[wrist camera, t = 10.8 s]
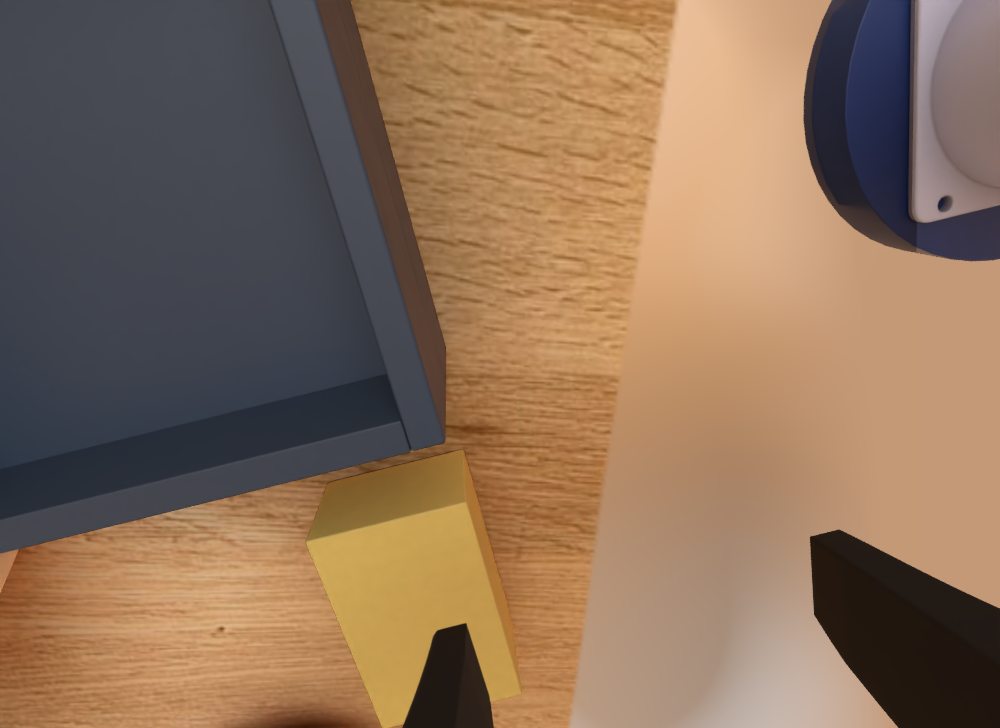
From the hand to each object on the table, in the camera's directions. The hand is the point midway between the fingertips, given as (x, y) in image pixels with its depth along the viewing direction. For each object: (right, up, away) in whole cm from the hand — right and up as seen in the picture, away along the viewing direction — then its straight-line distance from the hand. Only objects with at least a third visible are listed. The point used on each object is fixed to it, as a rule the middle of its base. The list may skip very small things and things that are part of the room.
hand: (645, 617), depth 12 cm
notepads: (-6, -2, +10) cm, 12 cm away
